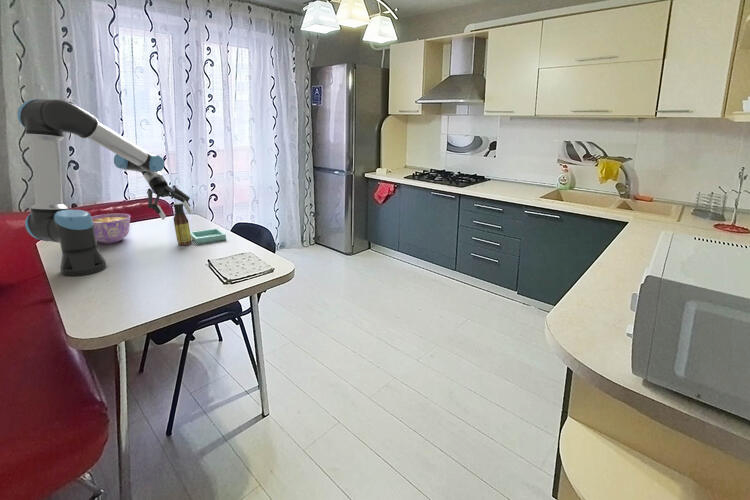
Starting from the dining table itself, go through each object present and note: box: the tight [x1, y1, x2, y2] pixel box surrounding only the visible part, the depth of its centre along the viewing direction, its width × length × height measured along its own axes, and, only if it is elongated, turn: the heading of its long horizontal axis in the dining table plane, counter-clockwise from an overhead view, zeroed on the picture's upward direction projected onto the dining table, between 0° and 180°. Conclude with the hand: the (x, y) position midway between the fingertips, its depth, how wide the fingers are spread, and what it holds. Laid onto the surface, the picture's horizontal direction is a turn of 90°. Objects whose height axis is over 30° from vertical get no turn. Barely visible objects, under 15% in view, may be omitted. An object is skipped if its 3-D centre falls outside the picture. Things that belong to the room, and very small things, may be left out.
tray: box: [190, 228, 227, 245], centre depth 211 cm, size 14×14×3 cm
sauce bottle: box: [173, 202, 193, 247], centre depth 200 cm, size 6×6×20 cm
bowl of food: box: [91, 213, 131, 245], centre depth 205 cm, size 20×20×12 cm
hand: (177, 215), depth 202 cm, fingers open, 13 cm apart
